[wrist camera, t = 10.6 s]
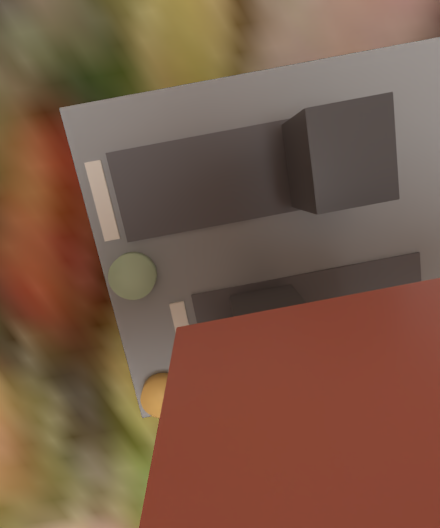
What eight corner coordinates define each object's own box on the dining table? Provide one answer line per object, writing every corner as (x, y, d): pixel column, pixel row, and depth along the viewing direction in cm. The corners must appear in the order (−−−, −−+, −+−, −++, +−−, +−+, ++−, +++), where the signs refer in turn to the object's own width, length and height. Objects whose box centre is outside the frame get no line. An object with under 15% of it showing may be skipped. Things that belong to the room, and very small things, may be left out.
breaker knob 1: (290, 284, 14) (316, 314, 11) (300, 351, 15) (326, 398, 12) (229, 295, 14) (236, 329, 11) (241, 362, 15) (251, 412, 12)
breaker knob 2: (349, 112, 13) (393, 91, 10) (357, 195, 13) (399, 199, 11) (281, 124, 13) (304, 108, 10) (292, 207, 13) (317, 214, 11)
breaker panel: (621, 11, 14) (680, -13, 12) (598, 316, 17) (644, 331, 15) (71, 114, 14) (52, 104, 12) (146, 401, 17) (139, 427, 15)
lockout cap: (461, 273, 8) (947, 448, 3) (466, 505, 9) (787, 900, 4) (176, 327, 8) (125, 602, 3) (227, 550, 9) (255, 1002, 4)
